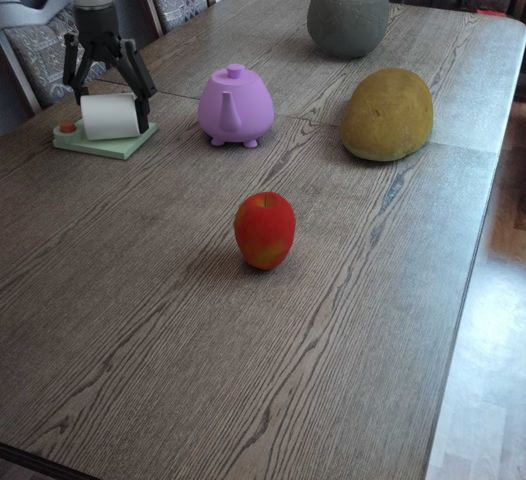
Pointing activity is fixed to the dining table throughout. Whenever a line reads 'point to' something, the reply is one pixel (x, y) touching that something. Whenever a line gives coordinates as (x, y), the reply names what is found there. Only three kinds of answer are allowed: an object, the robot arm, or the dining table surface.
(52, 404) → the dining table surface
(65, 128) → the scale button
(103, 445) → the dining table surface
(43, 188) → the dining table surface
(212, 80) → the teapot
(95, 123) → the mug
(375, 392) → the dining table surface
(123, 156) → the scale
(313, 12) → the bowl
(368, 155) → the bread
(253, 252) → the apple
